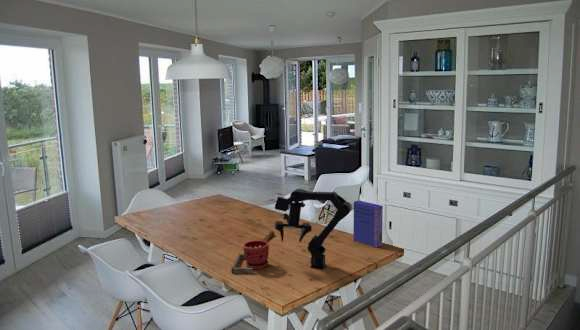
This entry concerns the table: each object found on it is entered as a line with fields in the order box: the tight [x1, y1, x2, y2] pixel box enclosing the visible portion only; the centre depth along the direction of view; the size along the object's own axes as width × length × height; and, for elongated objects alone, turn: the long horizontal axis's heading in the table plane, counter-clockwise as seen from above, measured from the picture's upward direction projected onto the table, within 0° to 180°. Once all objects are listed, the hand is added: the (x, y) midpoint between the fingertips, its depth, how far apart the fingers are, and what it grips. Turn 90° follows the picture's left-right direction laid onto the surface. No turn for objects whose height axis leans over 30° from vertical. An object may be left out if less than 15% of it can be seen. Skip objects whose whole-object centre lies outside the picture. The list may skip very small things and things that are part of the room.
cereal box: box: [353, 200, 384, 249], centre depth 271 cm, size 17×5×24 cm, turn 41°
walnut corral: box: [231, 253, 254, 275], centre depth 243 cm, size 11×20×2 cm, turn 176°
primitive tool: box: [260, 230, 275, 243], centre depth 282 cm, size 19×6×4 cm, turn 163°
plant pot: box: [242, 240, 270, 270], centre depth 242 cm, size 13×13×12 cm
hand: (290, 241), depth 243 cm, fingers open, 9 cm apart
